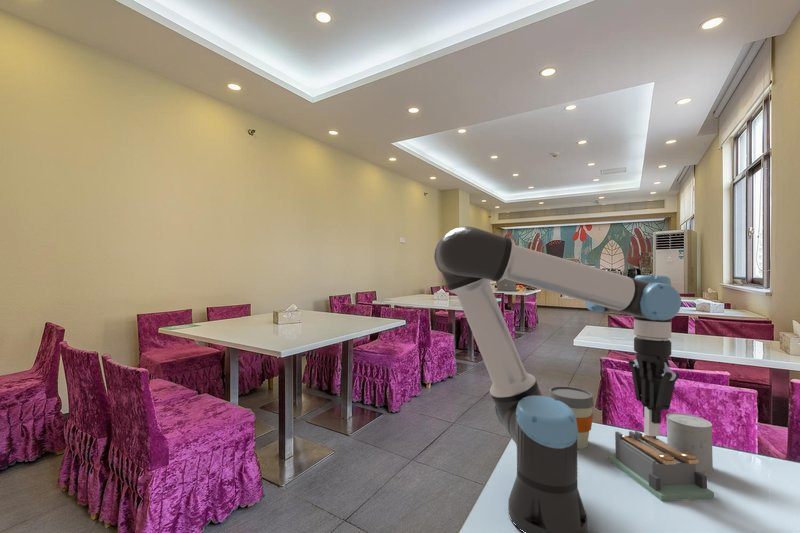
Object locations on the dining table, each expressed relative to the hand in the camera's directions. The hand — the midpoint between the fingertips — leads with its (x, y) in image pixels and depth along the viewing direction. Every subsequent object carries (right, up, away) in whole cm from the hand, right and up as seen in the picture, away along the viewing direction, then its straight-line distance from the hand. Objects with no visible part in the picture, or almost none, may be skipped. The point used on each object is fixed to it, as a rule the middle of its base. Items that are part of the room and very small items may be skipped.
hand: (651, 434), depth 86 cm
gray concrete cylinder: (+16, -13, +8) cm, 22 cm away
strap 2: (+6, -6, +3) cm, 9 cm away
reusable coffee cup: (-9, -13, +22) cm, 27 cm away
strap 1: (0, -6, +2) cm, 6 cm away
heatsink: (+3, -12, +3) cm, 13 cm away
